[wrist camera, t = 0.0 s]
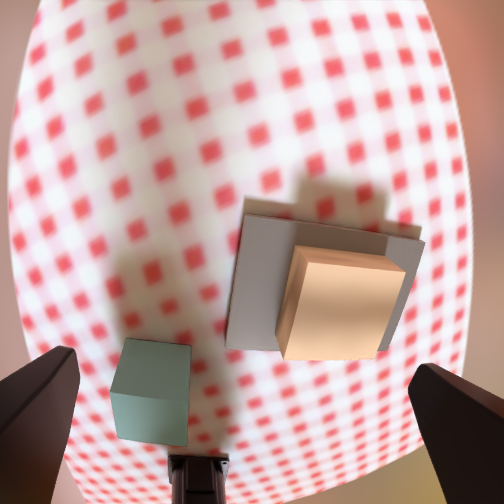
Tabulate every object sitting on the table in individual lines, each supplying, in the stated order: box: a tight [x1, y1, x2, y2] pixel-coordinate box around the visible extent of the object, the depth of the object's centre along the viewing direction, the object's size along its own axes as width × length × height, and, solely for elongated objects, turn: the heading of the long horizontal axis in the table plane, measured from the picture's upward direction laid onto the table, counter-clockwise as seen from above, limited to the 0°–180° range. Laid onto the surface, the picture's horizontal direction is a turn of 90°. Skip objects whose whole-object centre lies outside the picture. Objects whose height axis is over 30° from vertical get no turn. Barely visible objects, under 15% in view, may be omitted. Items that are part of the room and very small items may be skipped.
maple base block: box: [275, 245, 406, 360], centre depth 22 cm, size 7×7×3 cm
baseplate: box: [225, 214, 425, 351], centre depth 23 cm, size 10×14×1 cm
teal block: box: [110, 338, 191, 447], centre depth 21 cm, size 5×5×6 cm
